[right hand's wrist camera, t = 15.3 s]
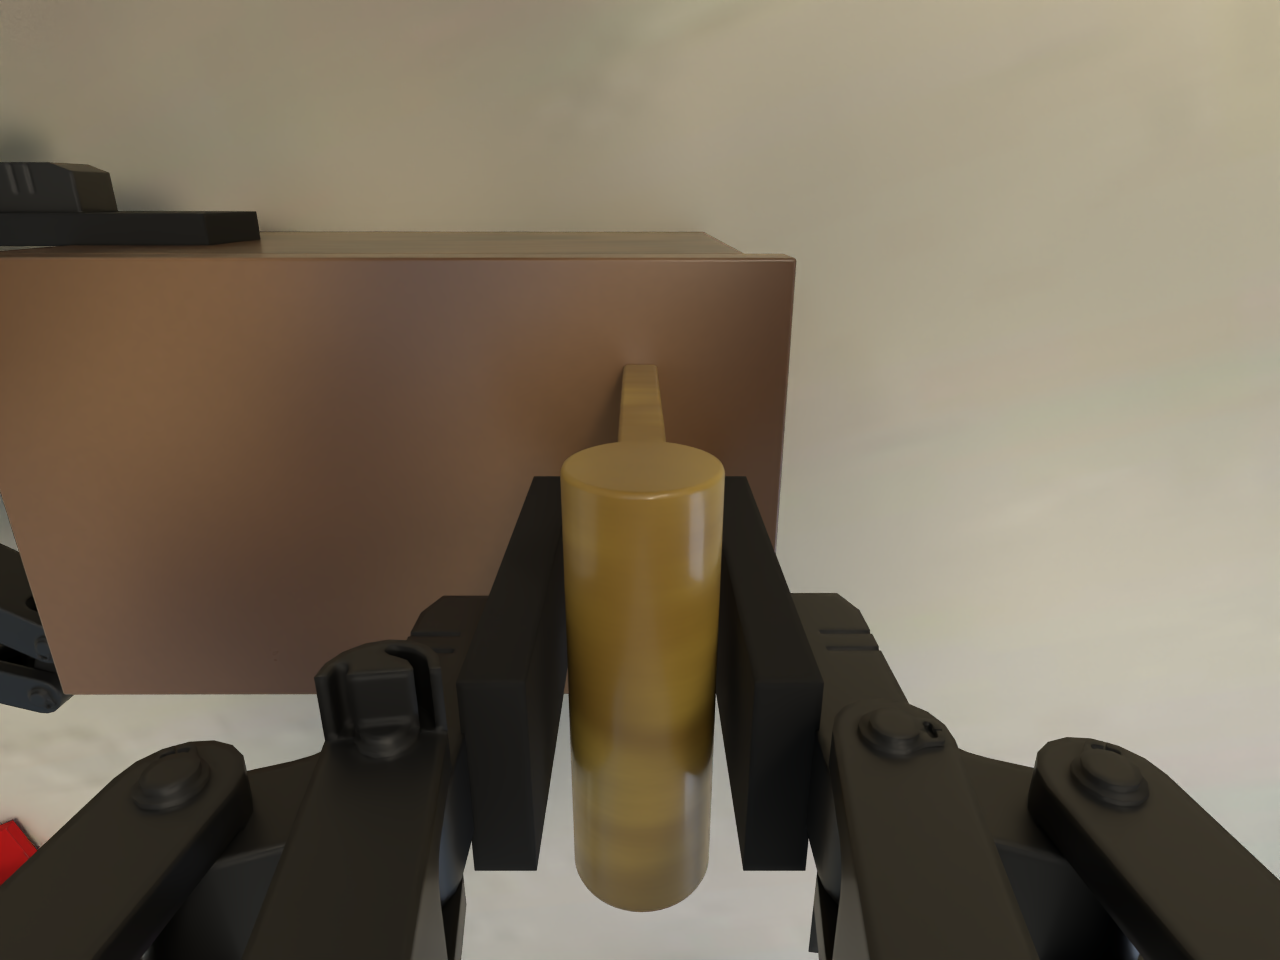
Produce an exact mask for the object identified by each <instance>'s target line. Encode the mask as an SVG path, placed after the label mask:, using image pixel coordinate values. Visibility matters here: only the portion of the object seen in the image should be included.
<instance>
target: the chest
mask: <svg viewBox="0 0 1280 960" xmlns="http://www.w3.org/2000/svg"><path fill="white" fill-rule="evenodd" d="M260 238H261V240H252V241H243V242H234V243H225V244H217V245H67V246H55V247H44V248H32V249H20V250H9V251H0V253H163V254H744V253H742V252H740V251H738V250H736V249H734V248H732V247H731V246H729V245H727V244H725V243H723V242H721V241H719V240H718V239H716V238H714V237H712V236H710V235H708V234H706V233H705V232H260Z"/></svg>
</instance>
